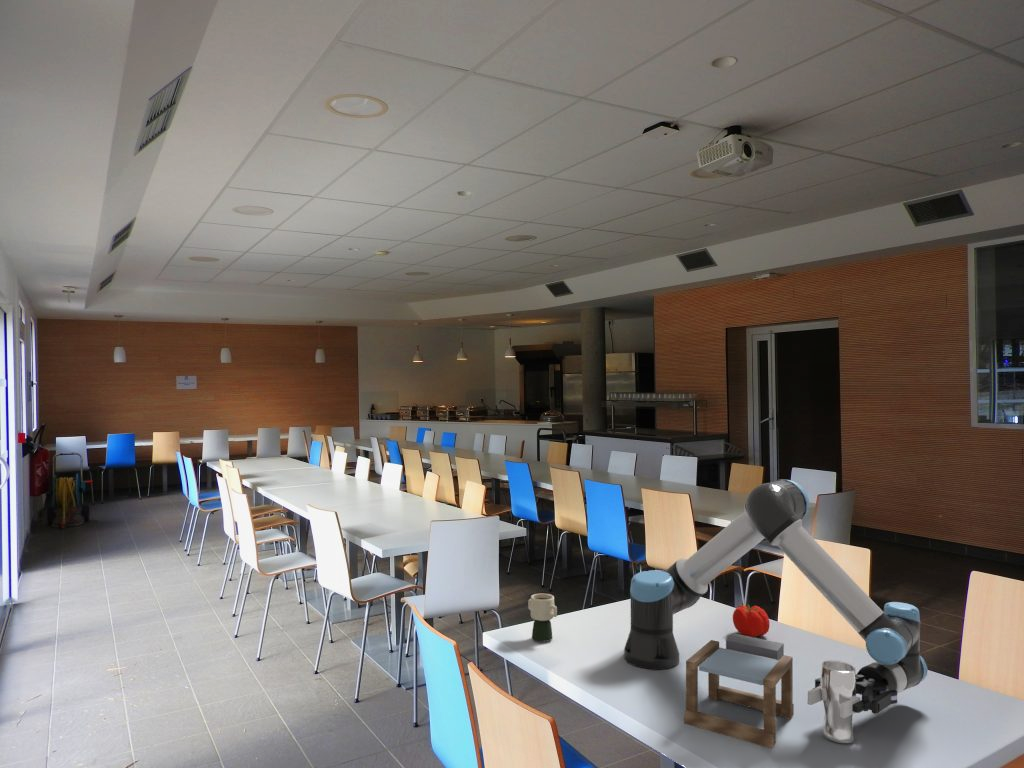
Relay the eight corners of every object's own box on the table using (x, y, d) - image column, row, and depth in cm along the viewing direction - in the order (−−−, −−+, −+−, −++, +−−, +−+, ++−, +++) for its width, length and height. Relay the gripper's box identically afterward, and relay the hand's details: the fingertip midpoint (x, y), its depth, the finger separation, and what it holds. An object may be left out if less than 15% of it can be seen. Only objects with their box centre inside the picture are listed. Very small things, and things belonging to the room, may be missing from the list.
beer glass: (814, 729, 151) (814, 660, 152) (844, 728, 152) (844, 659, 152) (831, 745, 144) (831, 672, 145) (863, 743, 145) (863, 672, 145)
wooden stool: (684, 723, 154) (684, 662, 155) (712, 693, 170) (712, 638, 170) (772, 748, 143) (772, 682, 144) (793, 714, 159) (793, 655, 159)
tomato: (730, 637, 211) (730, 609, 211) (737, 627, 220) (737, 600, 221) (766, 644, 206) (766, 614, 206) (772, 633, 215) (772, 605, 215)
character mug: (563, 641, 206) (564, 597, 206) (548, 647, 201) (549, 602, 201) (536, 632, 213) (536, 590, 214) (520, 638, 208) (521, 595, 208)
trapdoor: (788, 661, 165) (788, 644, 165) (763, 692, 147) (763, 673, 147) (729, 648, 173) (729, 632, 173) (699, 677, 155) (699, 659, 155)
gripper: (926, 712, 150) (871, 741, 137) (840, 681, 166) (783, 705, 153) (926, 677, 151) (871, 703, 137) (840, 650, 167) (783, 671, 153)
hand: (825, 704), depth 145 cm, fingers closed on beer glass, 7 cm apart
